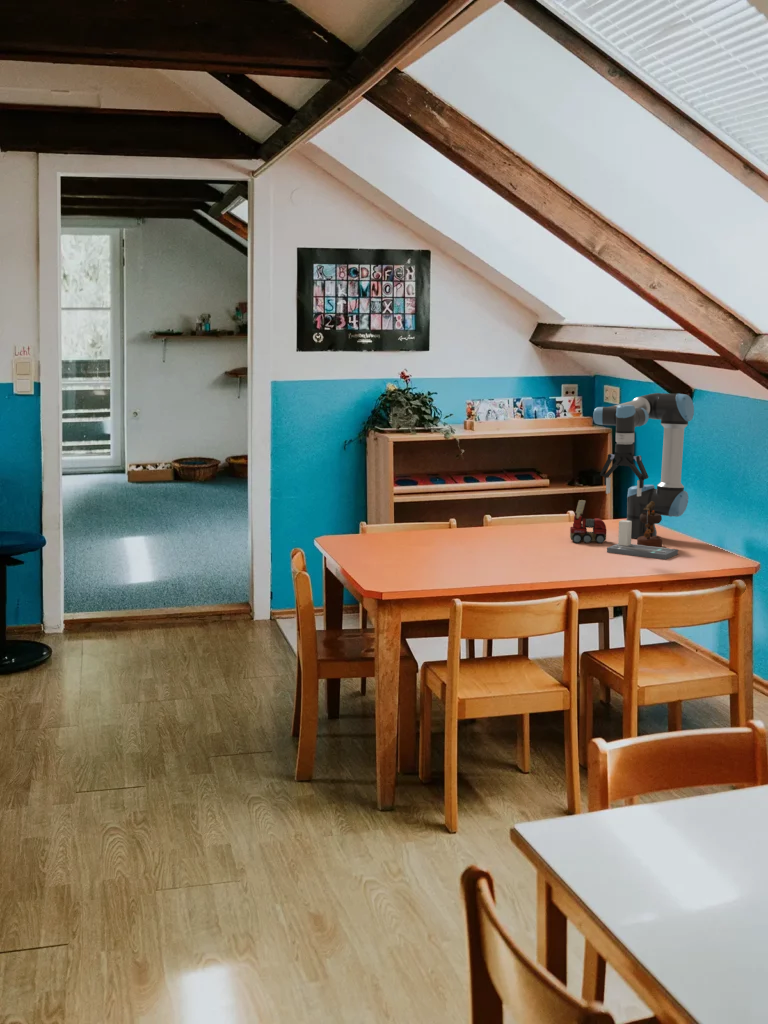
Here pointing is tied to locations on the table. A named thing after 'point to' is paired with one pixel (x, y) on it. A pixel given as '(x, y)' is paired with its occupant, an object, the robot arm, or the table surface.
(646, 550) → the slider board
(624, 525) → the fader tab
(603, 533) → the toy fire truck
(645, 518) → the brown tall irregular piece
